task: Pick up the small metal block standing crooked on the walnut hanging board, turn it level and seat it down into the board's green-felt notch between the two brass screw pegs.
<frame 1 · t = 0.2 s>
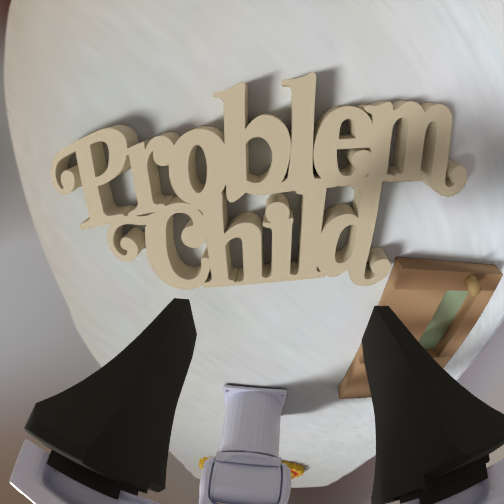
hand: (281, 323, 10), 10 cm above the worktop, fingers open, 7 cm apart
decorative plaque: (251, 466, 60), on the worktop
decorative sign: (254, 191, 19), on the worktop
board: (415, 338, 25), on the worktop
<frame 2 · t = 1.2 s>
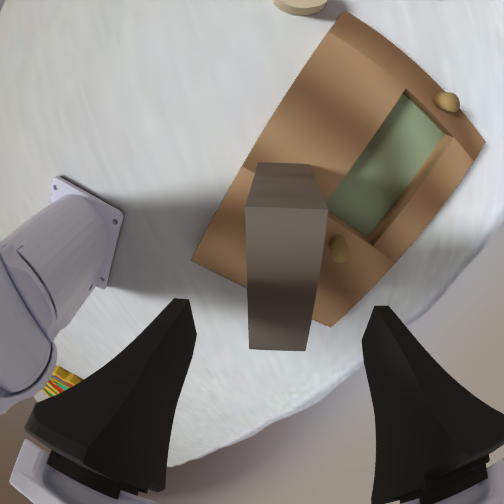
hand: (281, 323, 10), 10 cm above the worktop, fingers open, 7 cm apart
decorative plaque: (83, 398, 47), on the worktop
board: (343, 186, 18), on the worktop
metal block: (281, 223, 18), point 2 cm above the worktop, touching board
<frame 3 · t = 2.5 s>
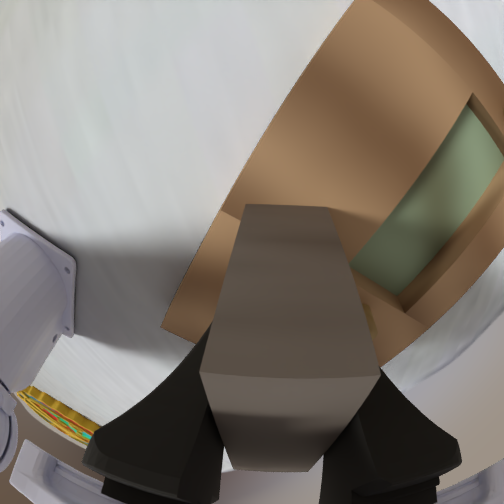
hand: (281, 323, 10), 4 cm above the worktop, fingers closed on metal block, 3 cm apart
decorative plaque: (73, 420, 41), on the worktop
board: (372, 232, 12), on the worktop
metal block: (281, 290, 12), point 2 cm above the worktop, touching board, gripper
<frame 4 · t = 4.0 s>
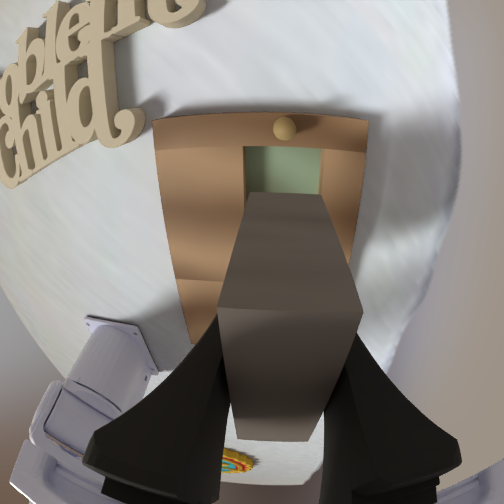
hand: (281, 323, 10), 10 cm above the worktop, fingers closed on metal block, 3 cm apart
decorative plaque: (196, 453, 56), on the worktop
decorative sign: (47, 96, 15), on the worktop
board: (259, 249, 21), on the worktop
metal block: (281, 271, 13), point 7 cm above the worktop, touching gripper
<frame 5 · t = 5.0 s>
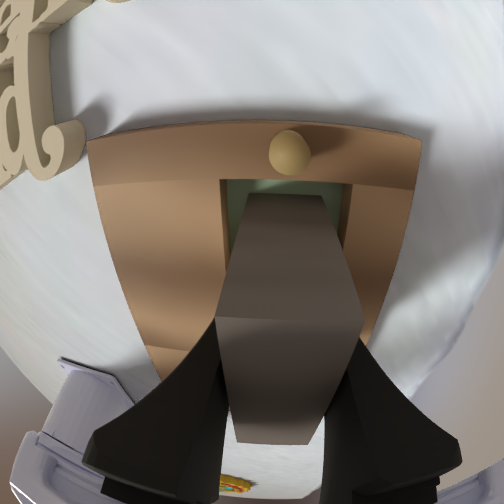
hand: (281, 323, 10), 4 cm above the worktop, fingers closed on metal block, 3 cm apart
decorative plaque: (192, 474, 51), on the worktop
board: (251, 313, 15), on the worktop
metal block: (281, 273, 13), resting on board, touching gripper
when the fingers open (3 cm above the worktop, at t = 5.4 s): metal block stays where it is, resting on board.
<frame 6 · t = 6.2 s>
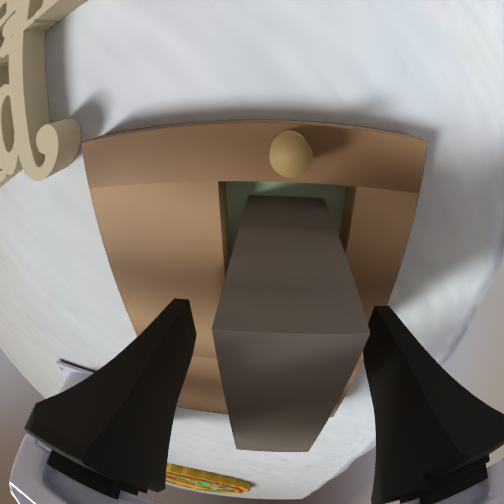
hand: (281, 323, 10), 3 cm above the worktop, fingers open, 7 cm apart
decorative plaque: (192, 475, 50), on the worktop
board: (251, 317, 15), on the worktop
metal block: (282, 277, 13), resting on board
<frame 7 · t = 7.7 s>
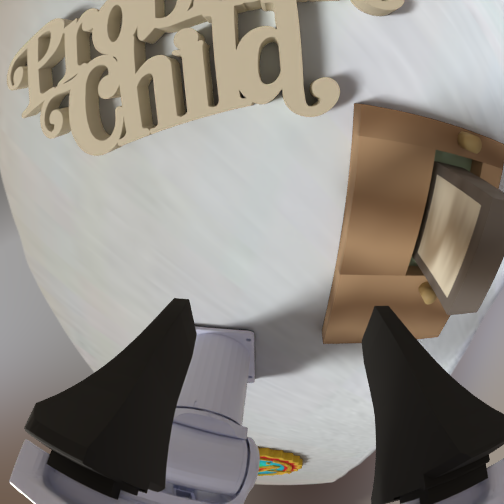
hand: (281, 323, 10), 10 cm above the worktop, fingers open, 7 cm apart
decorative plaque: (243, 458, 55), on the worktop
decorative sign: (173, 41, 14), on the worktop
board: (414, 243, 19), on the worktop
metal block: (438, 213, 17), resting on board
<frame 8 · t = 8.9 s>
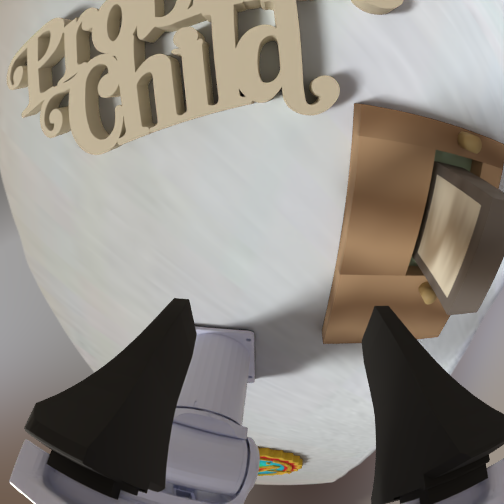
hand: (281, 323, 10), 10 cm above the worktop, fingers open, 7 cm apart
decorative plaque: (243, 458, 55), on the worktop
decorative sign: (172, 40, 13), on the worktop
board: (414, 243, 19), on the worktop
metal block: (438, 213, 17), resting on board
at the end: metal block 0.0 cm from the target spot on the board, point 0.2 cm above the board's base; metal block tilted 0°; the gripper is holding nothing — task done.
